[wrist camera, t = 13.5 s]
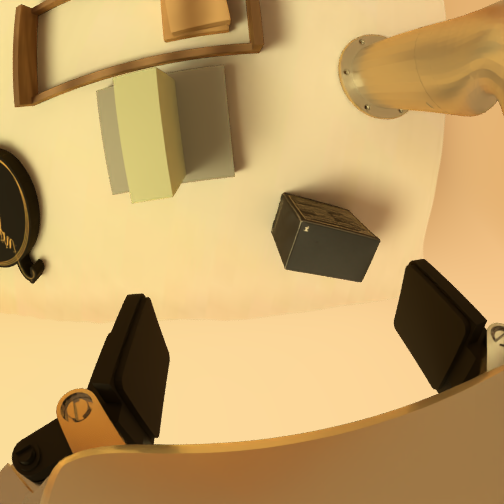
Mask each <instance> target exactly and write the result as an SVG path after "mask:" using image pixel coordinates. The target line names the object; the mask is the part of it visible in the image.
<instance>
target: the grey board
mask: <svg viewBox="0 0 504 504" xmlns="http://www.w3.org/2000/svg"><path fill="white" fill-rule="evenodd" d="M166 74H167V75H168V76H170V77H171V78H173V79H174V80H175V87H176V97H177V106H178V115H179V123H180V131H181V139H182V147H183V154H184V162H185V169H186V176H185V178H184V180H183V181H182V183H188V182H195V181H203V180H210V179H219V178H227V177H235V172H234V162H233V153H232V143H231V133H230V123H229V112H228V102H227V92H226V81H225V71H224V65H219V66H210V67H202V68H195V69H189V70H182V71H177V72H171V73H166ZM96 92H97V102H98V111H99V119H100V126H101V133H102V140H103V146H104V152H105V158H106V164H107V169H108V174H109V179H110V184H111V189H112V194H113V195H115V194H121V193H126V192H129V187H128V181H127V176H126V171H125V165H124V160H123V154H122V147H121V141H120V134H119V127H118V120H117V112H116V104H115V94H114V86H111V87H108V88H104V89H101V90H98V91H96Z"/></svg>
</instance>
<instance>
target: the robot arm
mask: <svg viewBox="0 0 504 504" xmlns="http://www.w3.org/2000/svg"><path fill="white" fill-rule="evenodd" d="M359 42H360V43H361V44H360V43H359ZM338 71H339V78H340V83H341V85H342V88H343V90H344V92H345V94H346V96H347V97H348V99H349V100H350V101H351V102H352V104H353V105H354V106H355V107H357V108H358V109H359V110H360V111H362V112H363V113H365V114H367V115H369V116H371V117H374V118H379V119H394V118H397V117H400V116H402V115H403V114H405V113H406V112H407V111H408V110H415V111H425V112H435V113H443V114H451V115H459V116H476V115H480V114H482V113H485V112H486V111H487V110H489V109H490V108H491V107H492V106H493V105H494V104H495V103H496V102H497V101H498V102H499V104H500V106H501V109H502V112H503V115H504V0H502V1H499V2H497V3H494V4H492V5H490V6H487V7H485V8H483V9H480V10H478V11H475V12H472V13H469V14H466V15H464V16H461V17H457V18H454V19H450V20H447V21H443V22H439V23H435V24H432V25H428V26H425V27H421V28H418V29H414V30H411V31H408V32H405V33H402V34H398V35H395V36H392V37H390V38H386V37H383V36H380V35H364V36H361V37H358V38H356V39H354V40H352V41H351V42H350V43H349V44H348V45H347V46H346V47H345V48H344V50H343V51H342V54H341V56H340V59H339V65H338ZM343 71H345V73H346V74H344V72H343ZM365 106H366V109H365ZM398 109H399V111H398ZM486 322H487V320H486V319H485V318H484V317H483V316H482V315H481V313H480V312H479V311H478V310H477V309H476V308H475V307H474V306H473V305H472V304H471V303H470V302H469V301H468V300H467V299H466V298H465V297H464V296H463V295H462V294H461V293H460V292H459V291H458V290H457V289H456V288H455V287H454V286H453V285H452V284H451V283H450V282H449V281H447V279H446V278H445V277H444V276H442V275H441V274H440V273H439V272H438V271H437V270H436V269H435V268H434V267H433V266H432V265H431V264H430V263H428V262H427V261H426V260H425V259H420V260H414V261H411V262H410V263H409V265H408V266H407V267H406V269H405V274H404V279H403V284H402V288H401V293H400V297H399V302H398V306H397V310H396V314H395V318H394V327H395V329H396V331H397V332H398V334H399V335H400V337H401V339H402V340H403V341H404V343H405V345H406V346H407V348H408V349H409V351H410V352H411V354H412V356H413V357H414V359H415V360H416V362H417V363H418V365H419V367H420V368H421V370H422V372H423V373H424V375H425V377H426V378H427V380H428V382H429V383H430V384H431V386H432V388H433V389H436V390H437V392H438V393H439V394H436V395H434V396H431V397H429V398H427V399H424V400H421V401H419V402H416V403H413V404H411V405H407V406H405V407H402V408H399V409H396V410H393V411H390V412H386V413H383V414H380V415H377V416H373V417H370V418H366V419H363V420H359V421H355V422H351V423H348V424H344V425H340V426H335V427H331V428H326V429H322V430H317V431H312V432H307V433H301V434H295V435H289V436H282V437H276V438H269V439H261V440H251V441H241V442H228V443H212V444H186V445H160V444H157V445H156V444H154V438H158V437H159V433H160V425H161V417H162V409H163V402H164V395H165V388H166V381H167V374H168V367H169V361H170V357H169V352H168V349H167V346H166V344H165V341H164V338H163V335H162V332H161V329H160V327H159V324H158V321H157V318H156V315H155V312H154V309H153V306H152V302H151V300H150V298H149V297H145V295H144V294H131V295H127V296H126V299H125V301H124V303H123V305H122V308H121V310H120V312H119V314H118V317H117V319H116V321H115V324H114V326H113V329H112V331H111V333H109V334H108V336H107V338H106V341H105V343H104V346H103V348H102V350H101V353H100V356H99V358H98V361H97V363H96V366H95V369H94V371H93V374H92V377H91V379H90V382H89V385H88V388H87V389H83V388H80V389H74V390H71V391H69V392H68V393H66V394H65V395H64V396H63V397H62V398H61V399H60V401H59V403H58V405H57V410H56V413H57V419H55V420H53V421H52V422H50V423H49V424H47V425H45V426H44V427H42V428H40V429H39V430H37V431H35V432H34V433H32V434H31V435H29V436H28V437H26V438H24V439H22V440H21V441H20V442H19V443H17V445H16V446H15V448H14V450H13V453H12V462H13V464H12V465H10V464H8V463H7V465H6V466H5V467H4V468H3V469H2V470H1V472H0V504H504V324H502V323H494V324H491V325H490V326H489V327H488V329H487V330H486V329H485V327H484V326H485V324H486Z"/></svg>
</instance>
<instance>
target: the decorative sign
mask: <svg viewBox="0 0 504 504" xmlns="http://www.w3.org/2000/svg"><path fill="white" fill-rule="evenodd" d="M39 226H40V211H39V203H38V198H37V194H36V191H35V188H34V185H33V183H32V180H31V178H30V176H29V174H28V173H27V171H26V169H25V168H24V166H23V165H22V164H21V162H20V161H19V160H18V159H17V158H16V157H15V156H14V155H13V154H11V153H10V152H8V151H6V150H4V149H0V267H11V266H14V265H16V264H17V265H18V267H19V269H20V271H21V273H22V274H23V276H24V277H25V278H26V279H27V280H29V281H30V282H31V283H32V284H34V283H35V281H36V280H37V279H38V278H39V277H40V276H41V274H42V272H43V270H44V263H43V262H42V260H41V259H38V260H37V261H36V262H35V263H34V264H33V263H32V261H31V259H30V256H29V252H30V251H31V250H32V248H33V246H34V244H35V242H36V240H37V237H38V233H39Z"/></svg>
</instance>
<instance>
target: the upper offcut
mask: <svg viewBox="0 0 504 504" xmlns="http://www.w3.org/2000/svg"><path fill="white" fill-rule="evenodd" d="M165 4H166V9H167V15H168V20H169V25H170V30H171V33H172V35H173V36H174V37H175V36H179V35H183V34H186V33H190V32H195V31H199V30H203V29H208V28H213V27H218V26H223V25H229V24H231V18H230V14H229V10H228V6H227V1H226V0H165Z"/></svg>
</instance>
